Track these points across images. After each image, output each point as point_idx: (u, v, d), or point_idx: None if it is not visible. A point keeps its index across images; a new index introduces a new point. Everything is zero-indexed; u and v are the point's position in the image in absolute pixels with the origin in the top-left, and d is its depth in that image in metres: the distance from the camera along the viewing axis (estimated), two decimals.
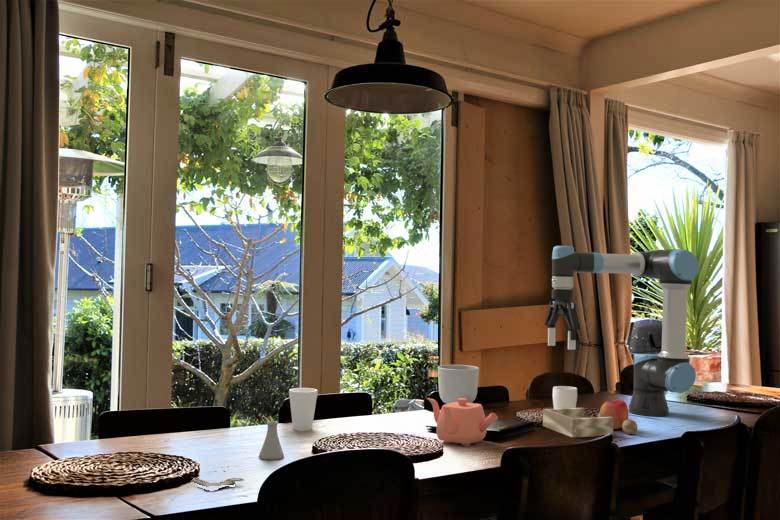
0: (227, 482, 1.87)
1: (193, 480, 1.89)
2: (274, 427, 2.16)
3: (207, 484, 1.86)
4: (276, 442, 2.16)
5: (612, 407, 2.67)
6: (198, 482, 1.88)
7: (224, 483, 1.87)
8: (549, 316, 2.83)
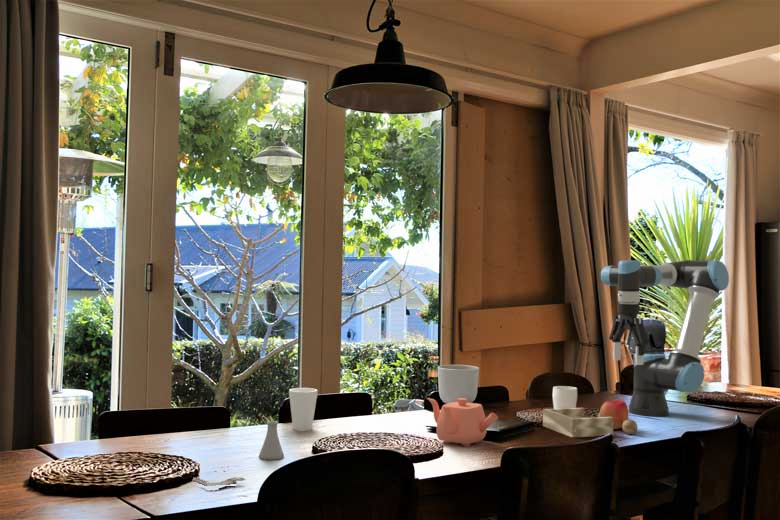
0: (228, 482, 1.88)
1: (194, 480, 1.90)
2: (274, 427, 2.16)
3: (208, 484, 1.86)
4: (276, 442, 2.16)
5: (612, 407, 2.67)
6: (199, 482, 1.88)
7: (225, 483, 1.87)
8: (614, 330, 2.82)
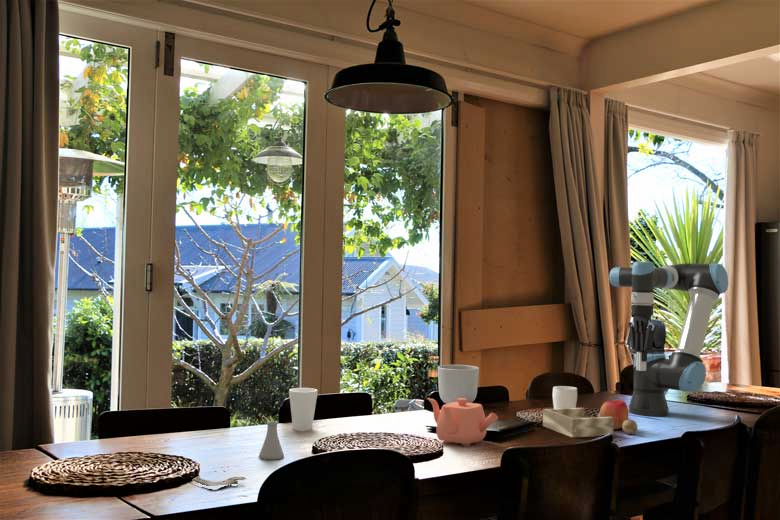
0: (229, 481, 1.88)
1: (195, 479, 1.90)
2: (274, 427, 2.16)
3: (209, 483, 1.86)
4: (276, 442, 2.16)
5: (612, 407, 2.67)
6: (200, 481, 1.88)
7: (226, 482, 1.88)
8: (633, 337, 2.78)
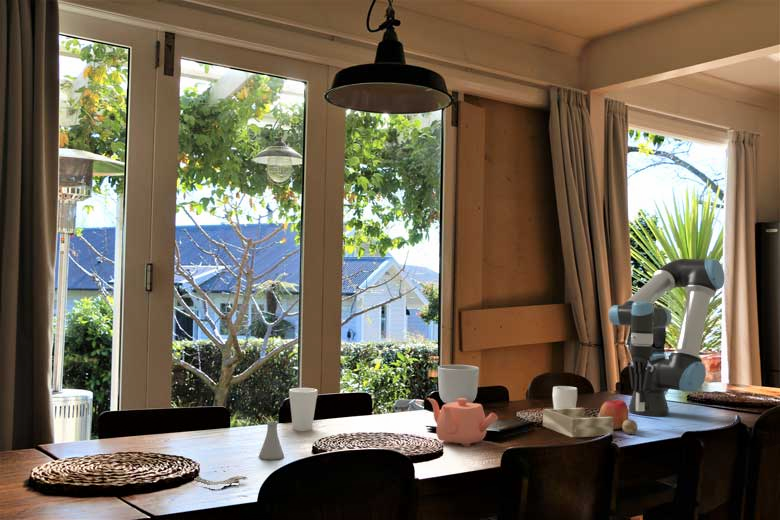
0: (231, 481, 1.89)
1: (196, 479, 1.90)
2: (274, 427, 2.16)
3: (211, 483, 1.87)
4: (276, 442, 2.16)
5: (612, 407, 2.67)
6: (201, 481, 1.89)
7: (228, 482, 1.88)
8: (633, 377, 2.77)
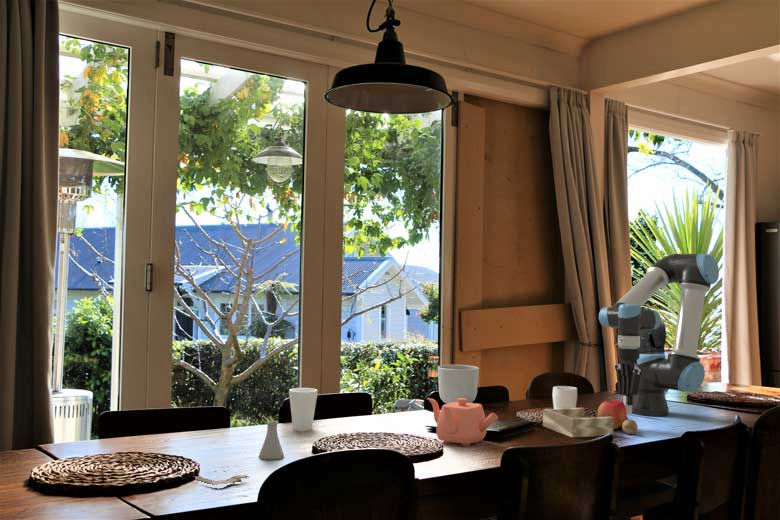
0: (233, 479, 1.90)
1: (197, 479, 1.91)
2: (274, 427, 2.16)
3: (213, 482, 1.88)
4: (276, 442, 2.16)
5: (610, 407, 2.67)
6: (203, 480, 1.89)
7: (230, 480, 1.89)
8: (620, 380, 2.75)
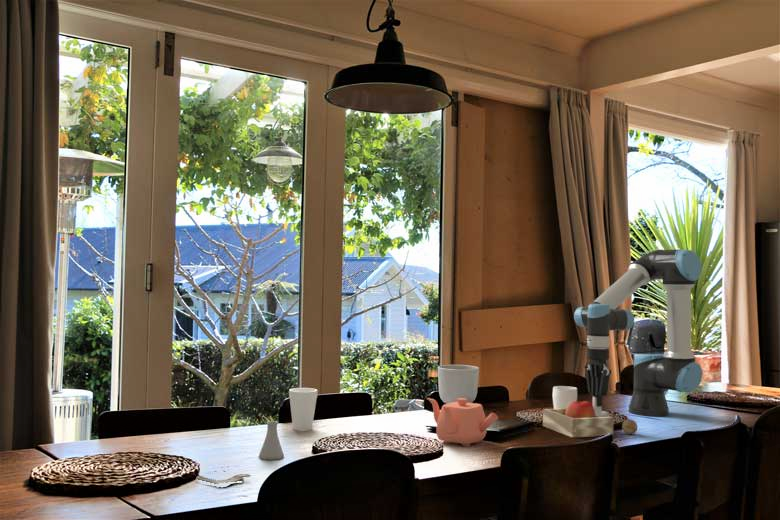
0: (235, 478, 1.91)
1: (199, 478, 1.91)
2: (274, 427, 2.16)
3: (216, 481, 1.88)
4: (275, 442, 2.16)
5: (574, 408, 2.65)
6: (205, 480, 1.90)
7: (232, 480, 1.90)
8: (590, 381, 2.71)
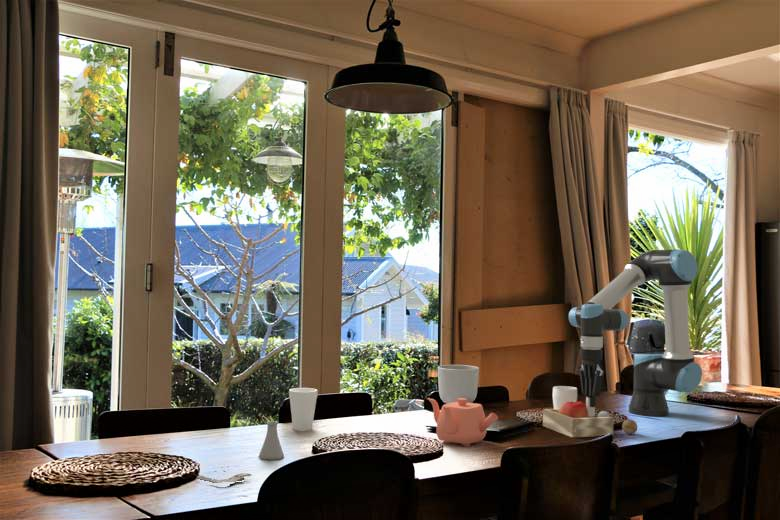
0: (236, 478, 1.91)
1: (200, 478, 1.91)
2: (274, 427, 2.16)
3: (217, 481, 1.89)
4: (275, 442, 2.16)
5: (567, 408, 2.64)
6: (206, 480, 1.90)
7: (233, 479, 1.91)
8: (583, 381, 2.71)
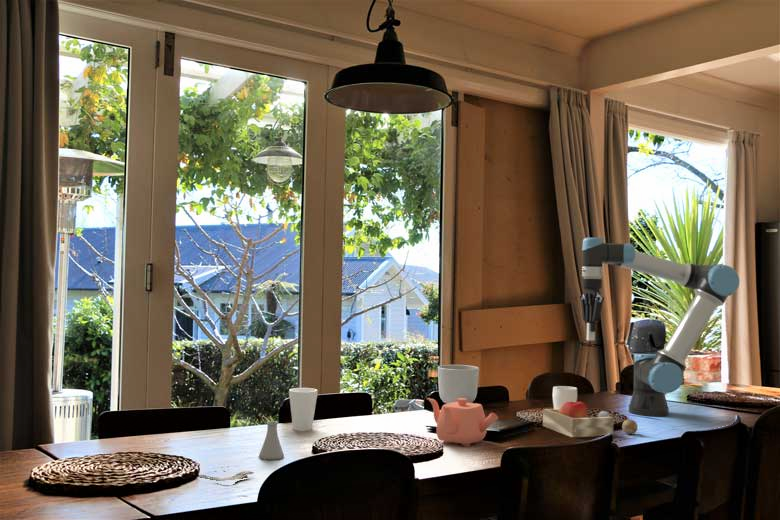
0: (239, 476, 1.93)
1: (202, 477, 1.93)
2: (274, 427, 2.16)
3: (221, 479, 1.91)
4: (275, 442, 2.16)
5: (567, 408, 2.64)
6: (210, 478, 1.91)
7: (237, 477, 1.93)
8: (584, 309, 2.94)
